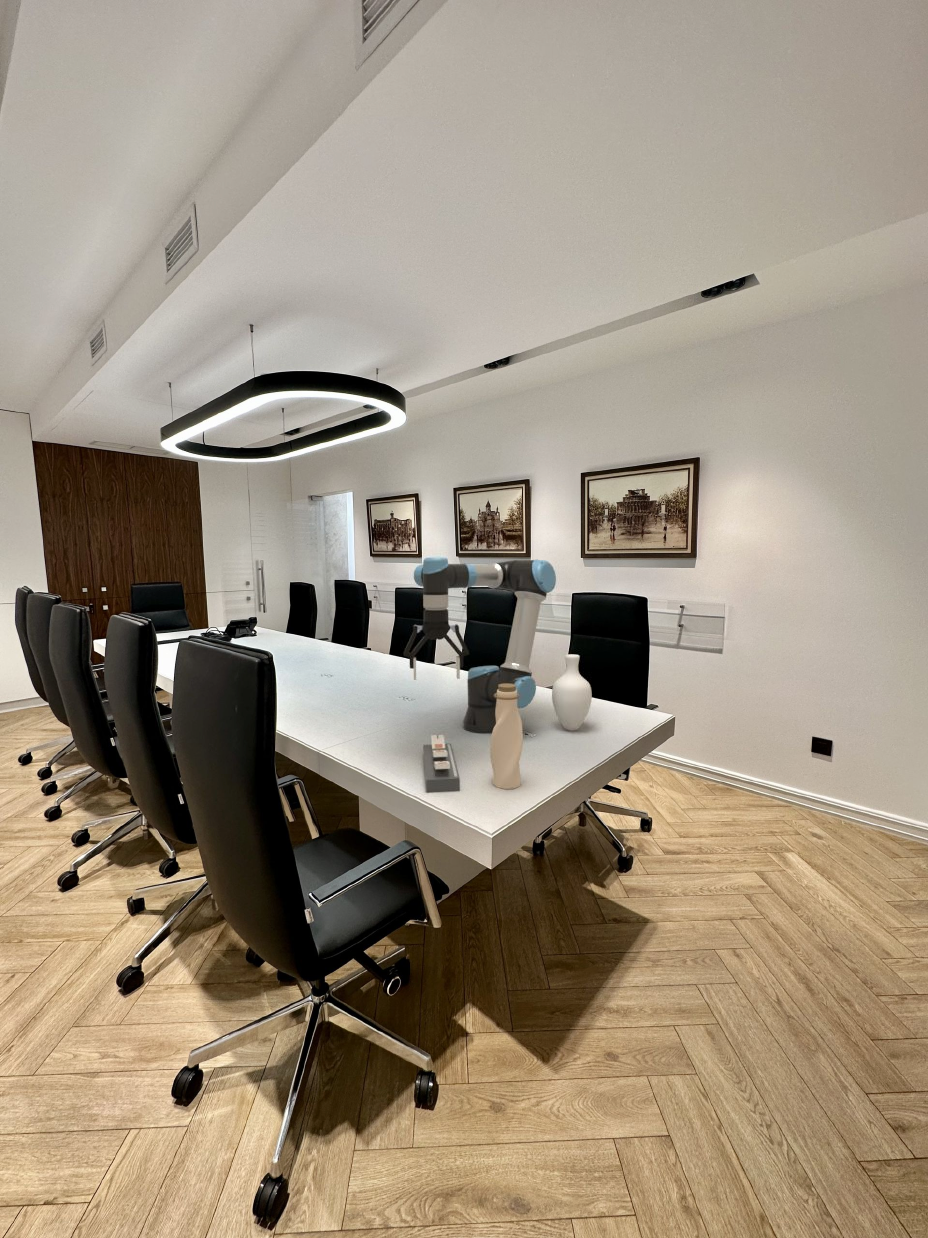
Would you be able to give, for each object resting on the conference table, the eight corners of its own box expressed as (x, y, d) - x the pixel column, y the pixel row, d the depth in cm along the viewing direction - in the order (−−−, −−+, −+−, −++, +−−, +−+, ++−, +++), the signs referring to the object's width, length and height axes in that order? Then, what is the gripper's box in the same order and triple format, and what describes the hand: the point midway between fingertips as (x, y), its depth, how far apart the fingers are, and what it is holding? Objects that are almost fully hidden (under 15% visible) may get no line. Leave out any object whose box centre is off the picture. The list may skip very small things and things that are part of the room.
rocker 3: (448, 766, 149) (447, 760, 150) (450, 768, 142) (449, 762, 143) (434, 766, 149) (434, 761, 149) (435, 769, 142) (435, 763, 142)
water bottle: (487, 775, 152) (487, 681, 149) (518, 774, 153) (518, 680, 150) (492, 790, 142) (492, 689, 139) (525, 789, 143) (525, 688, 140)
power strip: (449, 745, 178) (448, 734, 178) (459, 790, 142) (459, 777, 141) (422, 746, 177) (422, 735, 177) (426, 792, 141) (426, 779, 140)
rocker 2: (445, 754, 158) (445, 749, 158) (447, 756, 151) (447, 751, 152) (432, 755, 158) (432, 750, 158) (433, 757, 151) (433, 751, 151)
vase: (585, 723, 202) (586, 651, 199) (595, 735, 187) (597, 658, 184) (548, 723, 201) (549, 652, 198) (555, 736, 187) (556, 658, 184)
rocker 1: (443, 738, 167) (443, 734, 167) (445, 751, 161) (445, 747, 160) (431, 739, 167) (431, 735, 166) (432, 752, 160) (432, 748, 160)
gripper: (475, 607, 162) (475, 674, 165) (395, 608, 160) (396, 676, 162) (478, 609, 155) (478, 680, 157) (394, 610, 152) (395, 682, 155)
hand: (436, 678), depth 160 cm, fingers open, 12 cm apart
